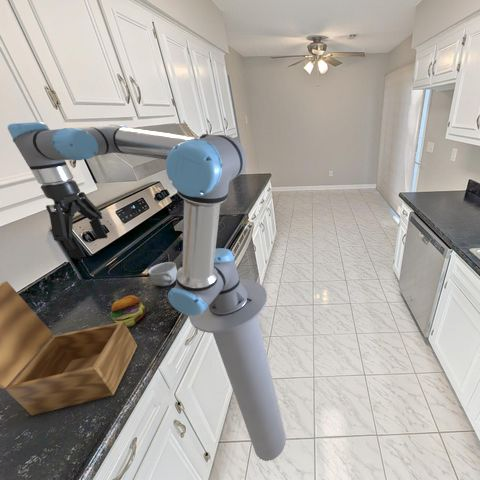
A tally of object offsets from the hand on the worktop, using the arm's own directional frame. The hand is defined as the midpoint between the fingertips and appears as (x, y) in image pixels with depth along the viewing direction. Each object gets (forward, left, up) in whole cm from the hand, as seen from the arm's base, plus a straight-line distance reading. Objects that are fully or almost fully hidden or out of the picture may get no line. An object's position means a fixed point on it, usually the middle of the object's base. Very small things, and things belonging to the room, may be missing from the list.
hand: (92, 247), depth 82 cm
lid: (+12, +24, -9) cm, 28 cm away
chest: (+2, +24, -31) cm, 39 cm away
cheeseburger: (0, 0, -31) cm, 31 cm away
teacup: (-8, -20, -31) cm, 38 cm away
